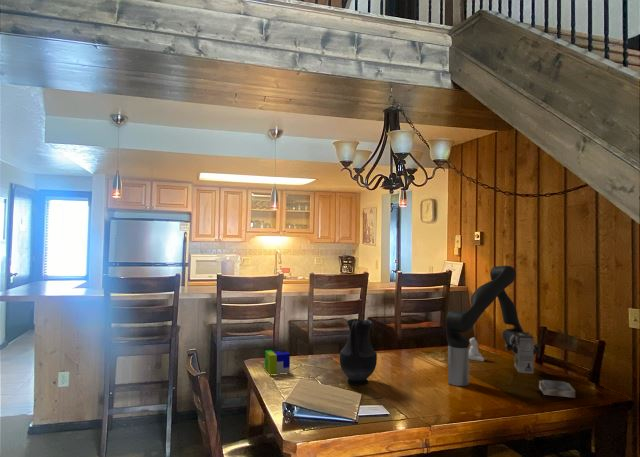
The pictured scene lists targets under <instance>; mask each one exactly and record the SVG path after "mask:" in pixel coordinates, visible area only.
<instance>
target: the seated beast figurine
mask: <svg viewBox="0 0 640 457" xmlns="http://www.w3.org/2000/svg"><path fill="white" fill-rule="evenodd" d="M468 342H469V345H470V346H469V360H472V361H475V362H476V361H477V362H481V363H482V362H484V361H485V358H484V357H483V355H482V354H481V353H480V352H479V348H478V345H479V344H478V340H477V339H476V337H471V338H469V340H468Z"/></svg>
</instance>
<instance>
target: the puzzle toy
mask: <svg viewBox="0 0 640 457" xmlns="http://www.w3.org/2000/svg"><path fill="white" fill-rule="evenodd" d="M290 355H291V354H290V353H289V352H288V351H287V350H286V349H284V348H281V349H280V348H279V349H272V350H270V349H269V350H264V370H265V369H266V371H267V372H268V373H269V374H270V375H271V374H280V373H289V372H291V371H290V369H291V365H290V364H291V356H290ZM266 371H265V372H266ZM267 372H266V373H267ZM268 373H267V374H268Z"/></svg>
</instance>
